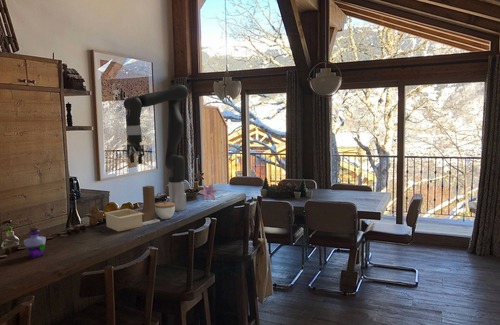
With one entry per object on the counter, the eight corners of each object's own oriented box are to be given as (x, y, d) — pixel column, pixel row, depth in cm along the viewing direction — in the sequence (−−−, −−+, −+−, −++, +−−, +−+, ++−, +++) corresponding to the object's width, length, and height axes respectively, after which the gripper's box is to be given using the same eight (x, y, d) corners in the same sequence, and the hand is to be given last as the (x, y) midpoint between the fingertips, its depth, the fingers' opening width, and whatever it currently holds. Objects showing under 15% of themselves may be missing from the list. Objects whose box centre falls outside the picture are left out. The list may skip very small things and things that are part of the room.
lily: (196, 200, 274) (197, 189, 269) (203, 191, 283) (204, 180, 278) (212, 206, 272) (214, 195, 267) (218, 196, 282) (220, 186, 276)
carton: (128, 221, 217) (127, 208, 216) (144, 226, 204) (144, 213, 203) (104, 225, 207) (103, 212, 207) (120, 232, 195) (119, 218, 194)
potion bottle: (42, 258, 159) (40, 229, 158) (20, 259, 158) (17, 230, 157) (51, 251, 167) (49, 223, 166) (30, 252, 167) (27, 224, 165)
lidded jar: (151, 219, 220) (151, 202, 219) (163, 214, 230) (163, 198, 229) (167, 220, 216) (166, 203, 215) (179, 216, 225) (178, 200, 224)
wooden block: (143, 222, 209) (141, 188, 207) (137, 221, 211) (135, 188, 209) (155, 218, 217) (154, 186, 215) (149, 217, 219) (148, 185, 217)
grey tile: (149, 218, 222) (149, 216, 222) (160, 221, 214) (159, 219, 214) (132, 221, 215) (132, 219, 215) (143, 225, 207) (143, 223, 207)
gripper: (147, 133, 216) (149, 163, 218) (134, 133, 226) (135, 161, 228) (134, 134, 211) (136, 164, 213) (121, 134, 221) (123, 163, 223)
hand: (136, 163), depth 221 cm, fingers open, 8 cm apart
